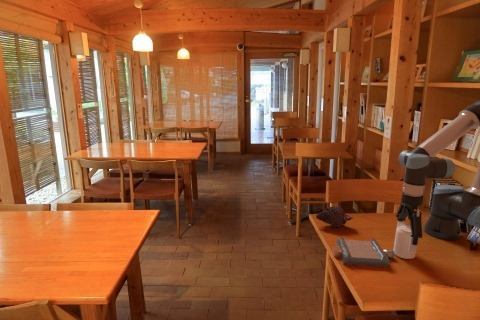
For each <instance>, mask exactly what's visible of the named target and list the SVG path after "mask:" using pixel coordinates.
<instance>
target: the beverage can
mask: <svg viewBox="0 0 480 320" xmlns="http://www.w3.org/2000/svg"><path fill="white" fill-rule="evenodd" d="M394 235H395V236H394V243H393V249H392V250H393V251H394V256H396V257H399V258H401V259H406V260H411V259H414V258H415V257H416V253H417V251H416V252H409V251H408V249H409V243H410V235H412V232H411V226H410V224H406V223H405V224H400V225H398V227H397V226H396V229H395V234H394Z"/></svg>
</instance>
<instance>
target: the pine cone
mask: <svg viewBox="0 0 480 320" xmlns="http://www.w3.org/2000/svg"><path fill="white" fill-rule="evenodd" d="M315 219H316V220H319V221H320V222H323V223H325V224H329V225H331V226H332V227H335V228H340V227H343V226H345V225H346V224H347V222H348V221H351V220H352V219H354V217H353V216H350V215H348V214H346V213H345V211H344V209H343V207H340V206H337V205H333V206H328V207H326V208H324V210H321V212H318V213H317V214H316V215H315Z"/></svg>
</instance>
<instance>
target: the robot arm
mask: <svg viewBox="0 0 480 320" xmlns="http://www.w3.org/2000/svg"><path fill="white" fill-rule="evenodd" d="M479 127H480V100H476V102H474V103H472V104H469V105H468V106H466V107H465V108H464V109H462V110H461V111H459V113H458V115H457V117H455V118H454V119H453V120H452V121H450V122H448V123H447V124H446V125H445V126H443V127H442V128H441V129H439V130H437V131H436V132H435V133H433V134H432V135H431V136H430V137H428V138H427V139H425V140H424V141H423V142H421V143H420V144H419V145H418V146H416V147H415V148H413V149H412V150H410V149H409V150H407V149H406V150H403V151H401V152H400V153H399V156H398V160H397V161H398V163H399V164H400V166H402V167H403V168H405V170H404V178H403V184H402V186H401V187H402V193H401V199H400V205H399V207H398V208H397V211H396V214H395V217H396V219H397V222H396V223H397V224H396V228H397V227H398V225H400V224H406V222H405V221H406V219H408V221H409V223H410V224H409V225H410V226H411V232H412V235H410V243H409V249H408V251H409V252H416V253H417V250H418V243H419V239H421V238H423V231H424V233H426V234H428V235H429V236H432V237H434V238H437V239H440V240H441V239H442V240H445V241H446V240H448V241H449V240H450V241H456V240H459V239H461V236H462V229H461V225H460V221H462V222H463V223H464V222H465V223H466V224H468V225H470V226H472V227H475V228H477V229H480V163H479V165H478V168H477V170H476V173H475V175H474V177H473V181H472V182H471V186H470V187H468V188H466V189H465V187H463V186H460V185H453V184H452V185H451V184H440V185H436V186H435V187H434V189H433V193H432V198H431V199H432V200H431V206H430V213H429V216H428V217H427V219H426V221H425V223H424V224H422V215H423V214H422V211H421V210H419V207H421V206H422V205H423V203H424V194H425V191H426V183H427V179H444V178H445V179H446V178H449V177H451V176H453V174H455V171H456V165H455V162H454V161H453V160H452V159H450V158H445V157H442V158H437V155H439V154H440V153H441V152H443V151H445V149H447V148H448V147H450V146H451V145H452V144H453V143H455V142H456V141H457V140H459V139H460V138H461V137H463V136H464V135H465V134H467V133H468V132H469V131H471V130H476V129H478V128H479Z"/></svg>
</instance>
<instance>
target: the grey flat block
mask: <svg viewBox="0 0 480 320" xmlns="http://www.w3.org/2000/svg"><path fill="white" fill-rule="evenodd" d="M331 248H332V249H331V251H332V255H333V257H334V258H340V260H341V263H342V265H352V266H364V267H378V268H380V267H382V268H389V265H390V259H394V258H395V254H394V251H393V249H383V247H381V245H380V244H379V241H377V239H376V238H375V237H371V240H354V239H344V236H342V235H340V236H339V239H338V238H336V239H335V245H332V247H331Z"/></svg>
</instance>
